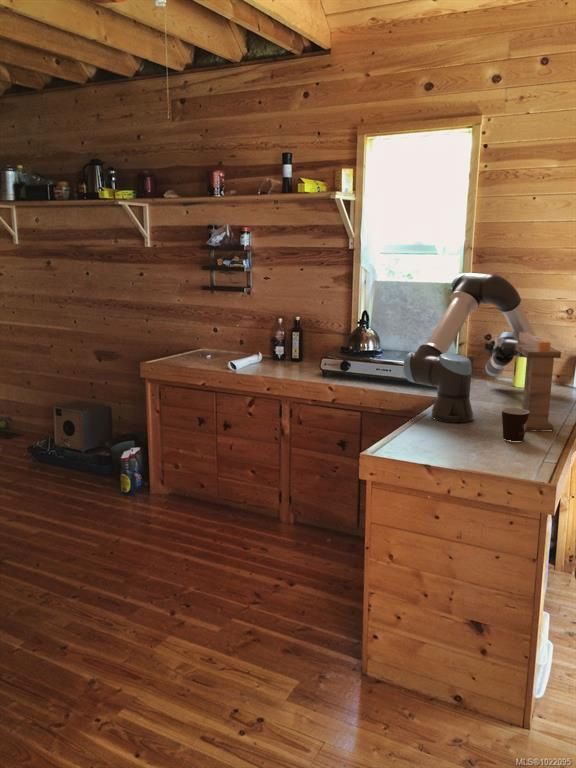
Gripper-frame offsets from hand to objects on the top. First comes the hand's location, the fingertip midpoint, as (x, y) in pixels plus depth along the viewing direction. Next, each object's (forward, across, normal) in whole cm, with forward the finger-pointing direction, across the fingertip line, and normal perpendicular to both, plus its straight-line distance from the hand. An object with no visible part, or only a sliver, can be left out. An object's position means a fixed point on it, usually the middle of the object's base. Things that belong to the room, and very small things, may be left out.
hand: (515, 339), depth 257 cm
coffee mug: (+26, +10, -46) cm, 54 cm away
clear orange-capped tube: (+21, 0, -10) cm, 23 cm away
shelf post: (+11, 0, -37) cm, 39 cm away
